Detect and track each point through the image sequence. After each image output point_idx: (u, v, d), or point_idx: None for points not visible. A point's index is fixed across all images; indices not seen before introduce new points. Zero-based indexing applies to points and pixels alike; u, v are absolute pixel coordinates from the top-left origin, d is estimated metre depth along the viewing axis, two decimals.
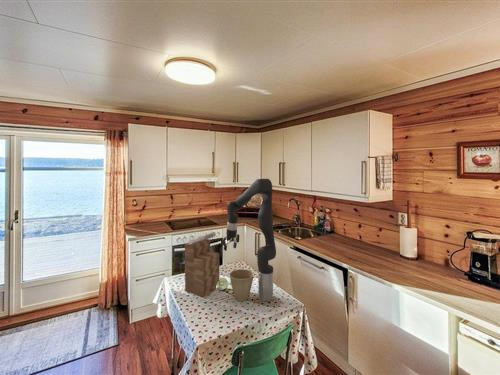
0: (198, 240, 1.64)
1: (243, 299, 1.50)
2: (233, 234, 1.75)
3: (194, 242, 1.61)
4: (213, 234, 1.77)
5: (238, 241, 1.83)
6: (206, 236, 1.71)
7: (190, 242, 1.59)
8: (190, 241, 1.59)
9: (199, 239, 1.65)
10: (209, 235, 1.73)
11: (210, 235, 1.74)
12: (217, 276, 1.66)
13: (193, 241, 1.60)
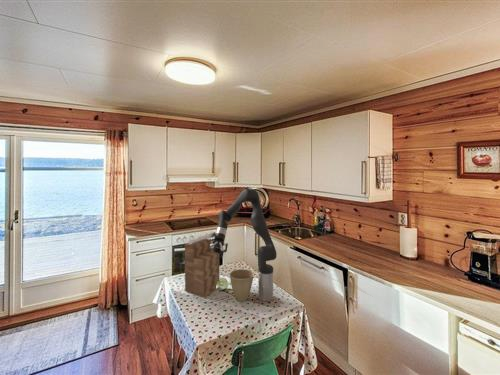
0: (198, 240, 1.64)
1: (243, 299, 1.50)
2: (218, 236, 1.78)
3: (194, 242, 1.61)
4: (213, 234, 1.77)
5: (225, 249, 1.75)
6: (206, 236, 1.71)
7: (190, 242, 1.59)
8: (190, 241, 1.59)
9: (199, 239, 1.65)
10: (209, 235, 1.73)
11: (210, 235, 1.74)
12: (217, 276, 1.66)
13: (193, 241, 1.60)
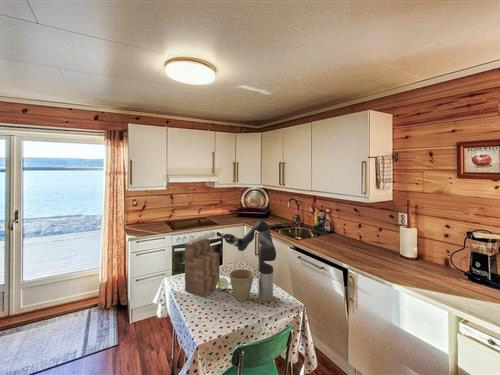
0: (198, 240, 1.64)
1: (243, 299, 1.50)
2: None
3: (194, 242, 1.61)
4: (213, 234, 1.77)
5: (232, 235, 1.89)
6: (206, 236, 1.71)
7: (190, 242, 1.59)
8: (190, 241, 1.59)
9: (199, 239, 1.65)
10: (209, 235, 1.73)
11: (210, 235, 1.74)
12: (217, 276, 1.66)
13: (193, 241, 1.60)
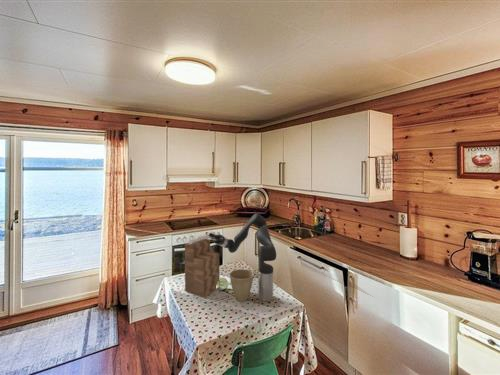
0: (198, 240, 1.64)
1: (243, 299, 1.50)
2: None
3: (194, 242, 1.61)
4: None
5: None
6: (206, 236, 1.71)
7: (190, 242, 1.59)
8: (190, 241, 1.59)
9: (199, 239, 1.65)
10: None
11: None
12: (217, 276, 1.66)
13: (193, 241, 1.60)
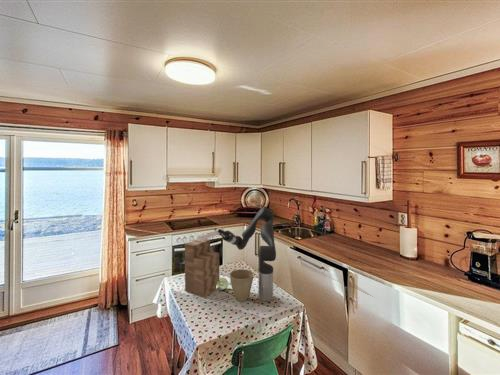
0: (207, 236, 1.59)
1: (243, 299, 1.50)
2: None
3: (203, 238, 1.56)
4: (222, 230, 1.73)
5: (225, 231, 1.72)
6: (215, 232, 1.66)
7: (199, 238, 1.55)
8: (199, 237, 1.55)
9: (209, 235, 1.61)
10: None
11: None
12: (217, 276, 1.66)
13: (202, 237, 1.55)
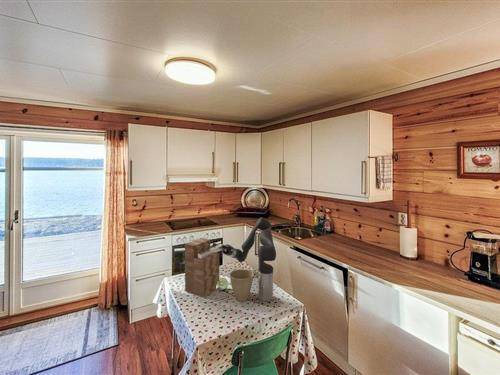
0: (207, 254, 1.60)
1: (243, 299, 1.50)
2: None
3: (203, 256, 1.57)
4: None
5: (229, 246, 1.73)
6: (215, 249, 1.67)
7: (199, 256, 1.56)
8: (199, 255, 1.56)
9: (209, 252, 1.62)
10: (218, 248, 1.70)
11: (219, 248, 1.71)
12: (217, 276, 1.66)
13: (203, 255, 1.56)
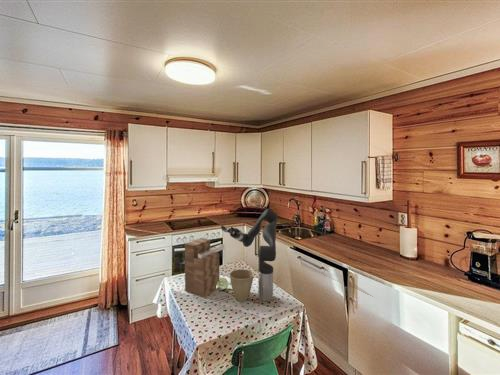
0: (207, 254, 1.60)
1: (243, 299, 1.50)
2: None
3: (203, 256, 1.57)
4: (222, 247, 1.74)
5: (237, 229, 1.81)
6: (215, 249, 1.67)
7: (199, 256, 1.56)
8: (199, 255, 1.56)
9: (209, 252, 1.62)
10: (218, 248, 1.70)
11: (219, 248, 1.71)
12: (217, 276, 1.66)
13: (203, 255, 1.56)
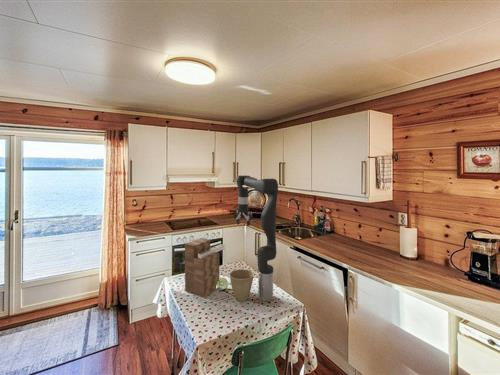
0: (207, 254, 1.60)
1: (243, 299, 1.50)
2: (239, 208, 1.76)
3: (203, 256, 1.57)
4: (222, 247, 1.74)
5: (249, 219, 1.75)
6: (215, 249, 1.67)
7: (199, 256, 1.56)
8: (199, 255, 1.56)
9: (209, 252, 1.62)
10: (218, 248, 1.70)
11: (219, 248, 1.71)
12: (217, 276, 1.66)
13: (203, 255, 1.56)
